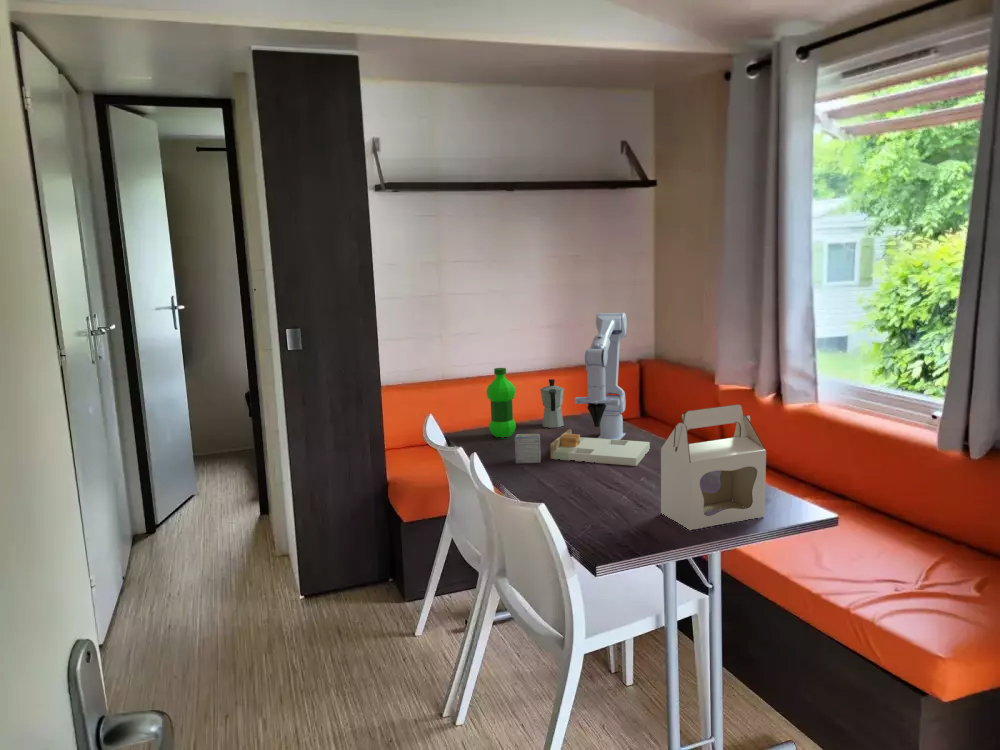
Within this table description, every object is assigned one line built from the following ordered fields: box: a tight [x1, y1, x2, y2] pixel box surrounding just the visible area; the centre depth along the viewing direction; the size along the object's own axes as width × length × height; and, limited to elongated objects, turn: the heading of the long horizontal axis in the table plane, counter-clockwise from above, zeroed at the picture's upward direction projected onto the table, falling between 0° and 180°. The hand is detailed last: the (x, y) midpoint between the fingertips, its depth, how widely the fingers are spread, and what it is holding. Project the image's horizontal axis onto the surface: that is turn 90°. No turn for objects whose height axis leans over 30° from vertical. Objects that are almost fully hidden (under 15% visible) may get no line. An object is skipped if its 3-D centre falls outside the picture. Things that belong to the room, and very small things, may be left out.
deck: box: [549, 429, 651, 467], centre depth 246 cm, size 19×28×5 cm
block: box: [561, 433, 581, 447], centre depth 250 cm, size 5×5×3 cm
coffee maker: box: [540, 378, 565, 428], centre depth 283 cm, size 15×9×18 cm, turn 178°
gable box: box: [660, 403, 767, 530], centre depth 188 cm, size 22×13×28 cm, turn 109°
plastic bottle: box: [486, 367, 517, 438], centre depth 271 cm, size 10×10×25 cm
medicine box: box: [514, 433, 542, 464], centre depth 241 cm, size 8×4×9 cm, turn 84°
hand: (597, 426), depth 246 cm, fingers closed
